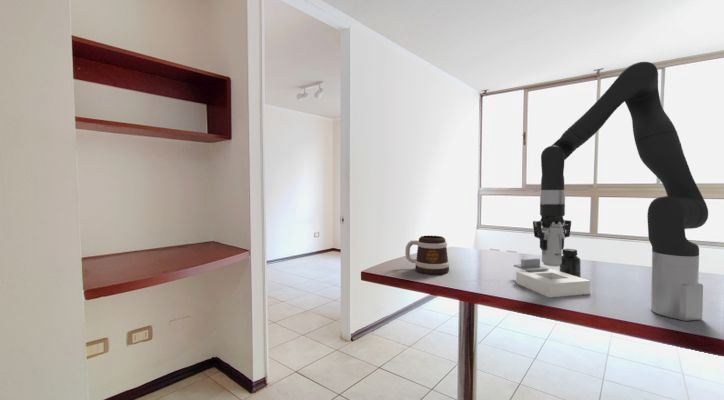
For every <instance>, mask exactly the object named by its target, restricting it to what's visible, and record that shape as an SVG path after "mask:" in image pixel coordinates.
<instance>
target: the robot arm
mask: <svg viewBox="0 0 724 400" xmlns="http://www.w3.org/2000/svg"><path fill="white" fill-rule="evenodd" d="M659 91H660V90H659V70H658V67H657V66H656V65H655V64H654V63H652V62H650V61H640V62H635V63H633V64H631V65H629V66H627V67H626V68H625V69H624V70H623V71H622V72H621V73H619V75H618V76H617V77H616V79H614V82H613V83H612V84H610V86H609V88H608V89H607V90H606V91H604V93H603V94H601V96H600V97H599V99H597V100H596V102H595V103H594V104H593V105H592V106H591V107H590V108H589V109H588V110H586V111H585V112H584V114H582V115H581V117H579V118H578V119H577V120H576V121H575V122H574V123H572V125H570V126H569V127H568V128H567V129H566V130H565V131H564V132H563V133H562V134H561V136H560V138H558V139H557V140H556V141H555V142H554V143H552V144H551V145H549V146H547V147H545V148H544V149H543V150H542V152H541V155H540V159H541V160H540V164H541V165H540V166H541V181H540V196H539V201H540V202H539V215H540V217H541V219H540V220H533V221H532V226H533V234H534V238H537V239H538V240H539V248H540V250H541V251H542V250H547V240H546V239H547V237H548V234H550V228H551V227H552V226H553V224H560V226H561V228H562V249H565V248H564V247H565V239H566V238H569V237H570V236H571V227H572V221H571V220H567V219H564V217H565V215H566V195H565V176H564V173H565V172H564V171H565V161H566V160H567V159H568V158H569V157H570V156H571V155H572V154H573V153H574V152H575V151H576V150H577V149H578V148H580V147H581V146H582V145H584V144H585V143H586V142H587V141H588V140H590V139H591V138H592V137H593V136H595V134H596V133H597V132H599V130H601V128H602V127H603V126H604V125H605V124H606V122H607V121H608V120H609V118H610V117H611V116H612V115H613V114H614V112H615V111H616V110H617V109H618V108H619V107H620V106H621V105H622V104H623V103H625V105H626V107H627V110H628V112H629V114H630V117H631V123H632V133H633V138H634V143H635V147H636V150H637V153H638V156H639V159H640V160H641V162H642V163H643V164H644V165H645V167H647V168H648V169H649V170H650V172H652V174H654V175H655V176H656V178H658V180H659V181H660V182H661V184H662V186H663V188H664V190H665V193H666V195H665V196H663V195H662V196H658V197H656V198H655V199H653V200H652V201H651V202H650V204H649V206H648V209H647V232H648V235H647V236H648V240H649V243H650V245H651V247H652V249H651V281H650V282H651V287H650V288H651V291H650V292H651V293H650V296H651V297H650V299H651V300H650V302H651V303H650V310H651V311H652V312H654V314H658V315H659V316H662V317H663V316H664V317H667V318H669V319H670V318H671V319H674V320H675V319H676V320H680V321H683V322H689V321H697V320H703V309H704V308H703V307H704V306H703V305H704V304H703V303H704V285H703V284H702V283H699V279H700V278H699V269H700V268H699V267H700V246H699V245H698V244H696V243H694V242H692V241H690V240H688V238H687V236H686V230H691V229H697V228H701V227H702V226H703V225H705V224H706V222H707V221H708V219H709V209H708V206H707V205H708V204H707V203H706V201H705V199H704V198H705V197H703V195H702V193H701V191H700V189H699V188H698V185H697V183H696V180H695V179H694V177H693V174H692V172H691V170H690V166H689V164H688V162H687V159H686V157H685V153H684V150H683V147H682V143H681V140H680V137H679V133H678V131H677V129H676V127H675V125H674V123H673V122H672V120H671V118H670V117H669V116H668V114H667V113H666V112H665V110H664V108H663V105H662V102H661V97H660V92H659ZM543 227H544V228H548V229H547V231H544V230H543ZM543 233H545V234H544V236H543Z"/></svg>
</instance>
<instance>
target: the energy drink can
mask: <svg viewBox="0 0 724 400" xmlns="http://www.w3.org/2000/svg"><path fill="white" fill-rule="evenodd" d="M547 229H548V228H544V227H543V230H544V231H547ZM544 234H545V233H543V236H544ZM546 240H547V250H541V262H542V263H543V265H544V266H546V267H547V266H548V267H560V264H561V263H562V256H563V254H562V228H561V226H560V224H553V226H552V227H551V228H550V234H548V237H547V239H546Z"/></svg>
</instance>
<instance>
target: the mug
mask: <svg viewBox="0 0 724 400" xmlns="http://www.w3.org/2000/svg"><path fill="white" fill-rule="evenodd" d="M413 245H417V249H416V250H417V252H416V258H413V257H411V255H410V254H411V247H412V246H413ZM447 247H448V242H447V241H446V238H445V237H443V236H440V235H422V236H420V237H419V238H418V240H415V239H414V240H410V241H409V242H407V244H406V246H405V251H404V252H405V258H406V260H407V261H408V262H410V263H411V264H415V270H416V271H417V272H418V273H421V274H425V275H438V276H439V275H444V274H447V273H448V272H450V264H451V263H450V261H449V258H448V249H447Z"/></svg>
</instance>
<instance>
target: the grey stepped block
mask: <svg viewBox="0 0 724 400" xmlns="http://www.w3.org/2000/svg"><path fill="white" fill-rule="evenodd" d="M513 267H515V268H517V269H520V270H522V271H529V272H530V271H545V270H548V269H549V268H547V267H544V266H542V265H541V259H540V258H539V257H536V258H521V261H520V264H518V263H517V264H513Z"/></svg>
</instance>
